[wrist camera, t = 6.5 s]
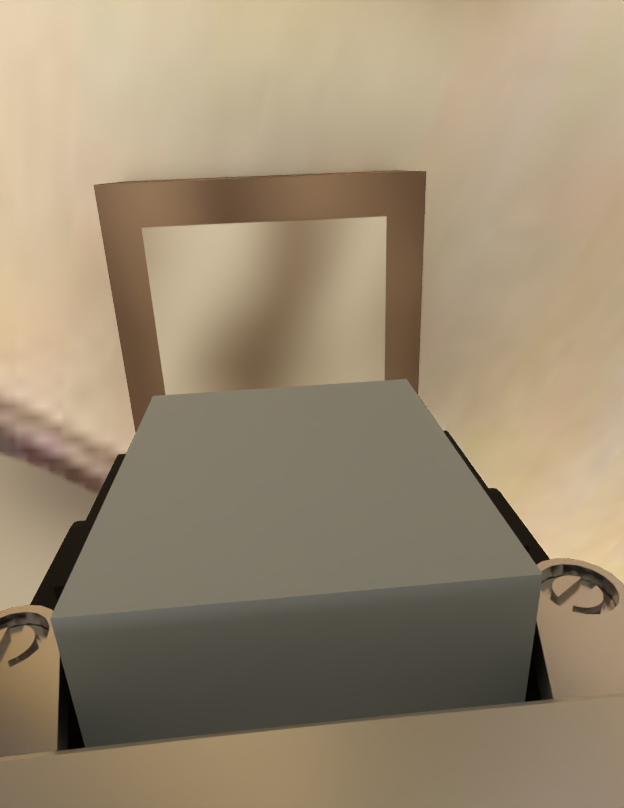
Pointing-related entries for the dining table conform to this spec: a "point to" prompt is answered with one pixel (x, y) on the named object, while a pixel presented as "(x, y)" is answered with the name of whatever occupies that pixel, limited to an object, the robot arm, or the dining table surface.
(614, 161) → the dining table surface
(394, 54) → the dining table surface
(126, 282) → the base
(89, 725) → the block
